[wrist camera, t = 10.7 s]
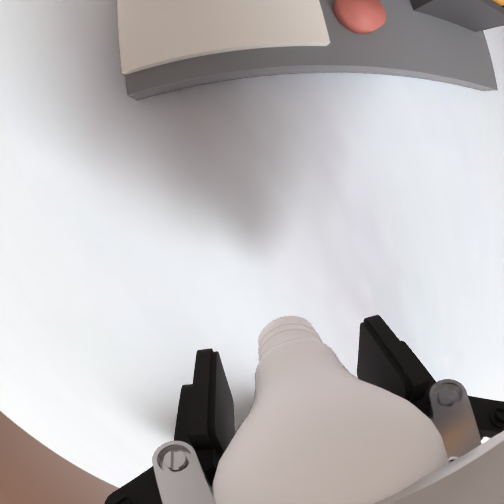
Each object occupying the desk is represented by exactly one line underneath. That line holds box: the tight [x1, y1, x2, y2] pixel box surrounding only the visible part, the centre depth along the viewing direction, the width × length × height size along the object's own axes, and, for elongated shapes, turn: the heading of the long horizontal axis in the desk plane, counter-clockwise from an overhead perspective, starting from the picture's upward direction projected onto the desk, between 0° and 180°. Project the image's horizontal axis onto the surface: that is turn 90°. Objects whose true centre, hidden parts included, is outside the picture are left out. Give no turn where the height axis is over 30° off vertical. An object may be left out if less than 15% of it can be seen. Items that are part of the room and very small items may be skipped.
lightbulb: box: [212, 316, 448, 504], centre depth 8 cm, size 6×6×11 cm
